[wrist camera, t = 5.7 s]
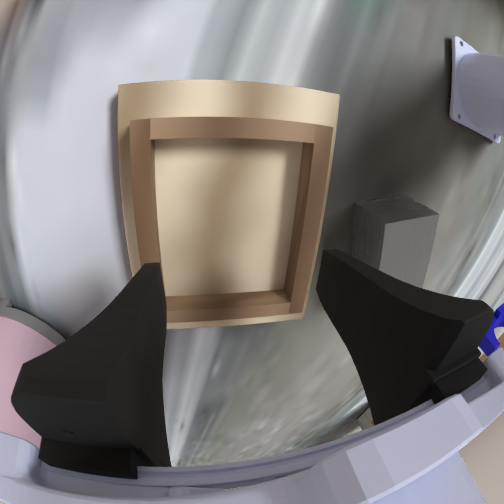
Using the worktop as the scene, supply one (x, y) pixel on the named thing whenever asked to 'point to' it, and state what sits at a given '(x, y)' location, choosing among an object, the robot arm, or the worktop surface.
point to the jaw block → (395, 237)
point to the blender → (19, 362)
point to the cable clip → (489, 342)
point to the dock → (226, 194)
